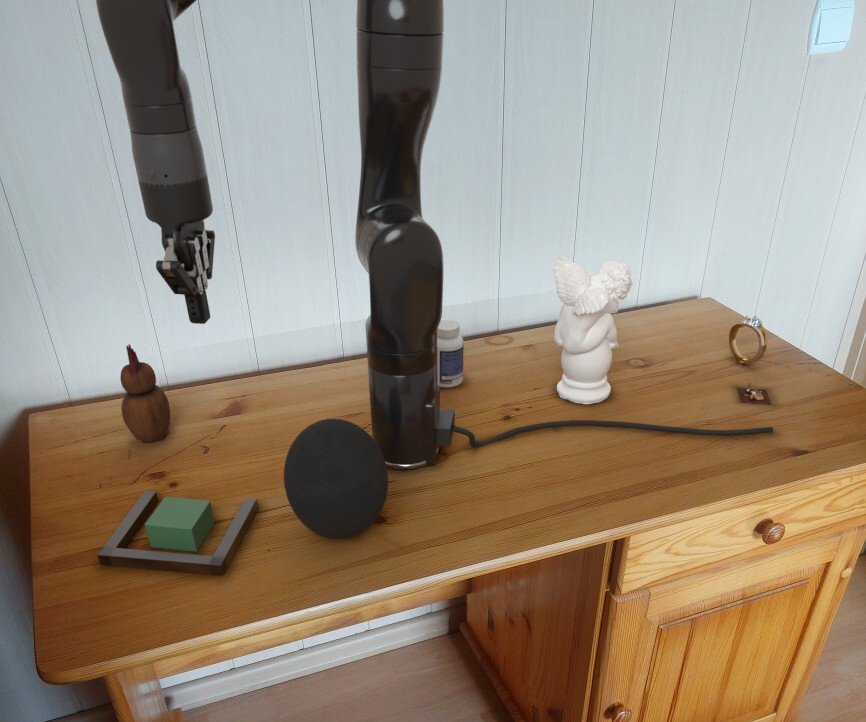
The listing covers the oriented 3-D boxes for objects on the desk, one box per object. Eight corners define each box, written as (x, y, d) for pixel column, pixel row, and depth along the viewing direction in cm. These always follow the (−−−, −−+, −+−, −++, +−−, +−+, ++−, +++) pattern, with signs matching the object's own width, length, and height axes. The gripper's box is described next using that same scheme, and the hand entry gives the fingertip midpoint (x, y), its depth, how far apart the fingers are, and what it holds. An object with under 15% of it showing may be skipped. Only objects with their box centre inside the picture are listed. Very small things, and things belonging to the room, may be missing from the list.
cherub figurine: (612, 378, 134) (631, 243, 121) (628, 416, 124) (651, 273, 111) (538, 380, 134) (549, 244, 120) (549, 417, 124) (562, 274, 111)
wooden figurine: (160, 449, 118) (136, 352, 108) (123, 445, 119) (96, 349, 109) (180, 426, 123) (159, 332, 114) (145, 422, 124) (121, 328, 115)
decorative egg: (340, 574, 95) (329, 466, 86) (271, 533, 102) (254, 428, 93) (410, 526, 103) (407, 421, 94) (342, 490, 109) (332, 389, 100)
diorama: (744, 400, 128) (748, 388, 127) (741, 389, 131) (744, 377, 130) (764, 401, 128) (767, 389, 126) (760, 390, 131) (764, 378, 129)
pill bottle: (469, 378, 135) (470, 322, 129) (452, 391, 131) (452, 334, 125) (441, 370, 137) (441, 315, 131) (424, 383, 133) (423, 326, 127)
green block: (215, 523, 104) (210, 500, 101) (196, 552, 99) (191, 529, 97) (170, 518, 104) (165, 496, 102) (150, 547, 100) (144, 524, 98)
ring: (764, 369, 137) (776, 323, 132) (749, 372, 136) (761, 327, 131) (735, 353, 142) (745, 308, 137) (720, 356, 140) (730, 311, 136)
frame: (258, 508, 106) (256, 498, 105) (223, 576, 95) (220, 565, 94) (147, 500, 108) (144, 490, 107) (100, 565, 97) (97, 554, 96)
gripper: (181, 189, 85) (210, 345, 96) (224, 159, 96) (246, 302, 106) (113, 187, 86) (150, 341, 97) (163, 157, 96) (191, 299, 107)
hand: (200, 321), depth 102 cm, fingers closed
